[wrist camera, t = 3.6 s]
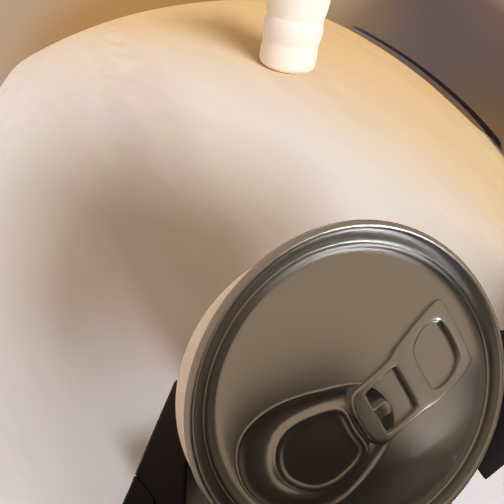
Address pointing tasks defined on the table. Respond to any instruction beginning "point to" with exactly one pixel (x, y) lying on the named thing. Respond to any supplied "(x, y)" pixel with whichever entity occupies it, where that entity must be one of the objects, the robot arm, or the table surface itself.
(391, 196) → the table surface
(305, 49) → the water bottle
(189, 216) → the table surface
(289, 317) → the can
